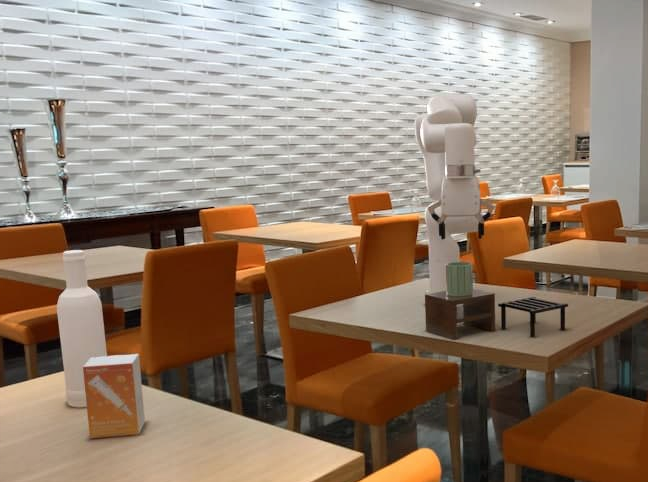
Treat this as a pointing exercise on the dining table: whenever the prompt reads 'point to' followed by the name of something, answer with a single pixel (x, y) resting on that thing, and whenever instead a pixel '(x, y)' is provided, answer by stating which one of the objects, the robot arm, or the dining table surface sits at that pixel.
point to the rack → (532, 310)
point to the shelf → (459, 312)
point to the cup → (459, 279)
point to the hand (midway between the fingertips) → (461, 238)
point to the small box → (114, 395)
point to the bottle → (79, 326)
